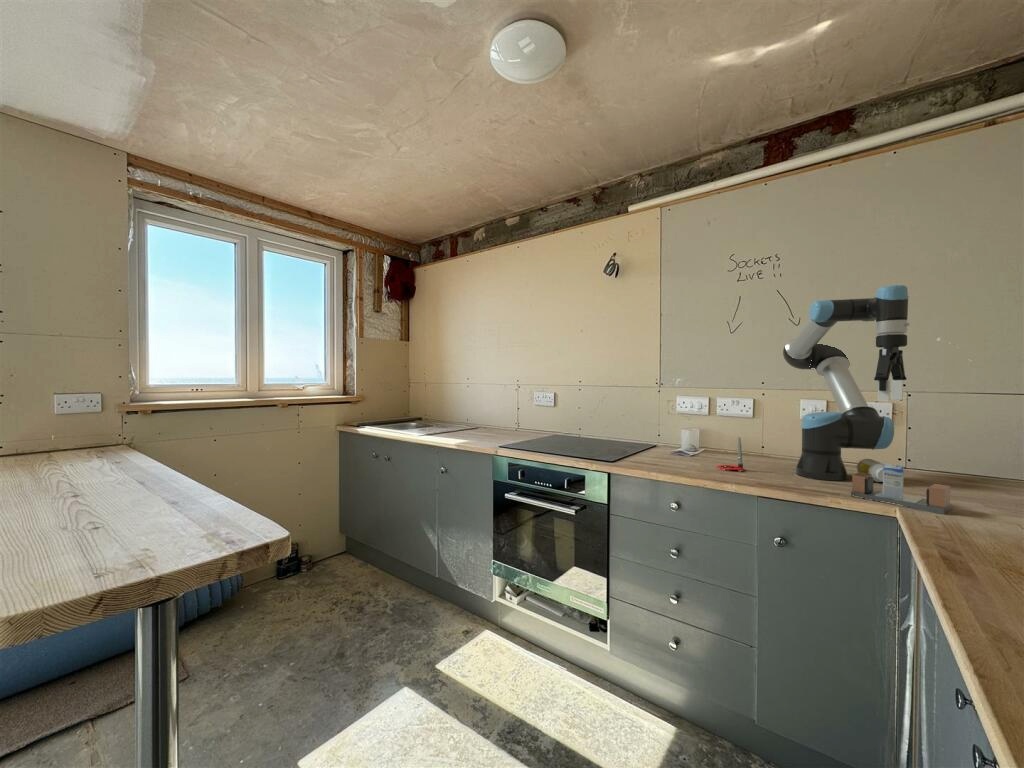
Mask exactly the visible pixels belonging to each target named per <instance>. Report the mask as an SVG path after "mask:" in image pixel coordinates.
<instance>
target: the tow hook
mask: <svg viewBox="0 0 1024 768" xmlns="http://www.w3.org/2000/svg"><path fill="white" fill-rule="evenodd" d="M737 437H738V438H737V441H738V442H737V453H738V455H737V459H738V460H737V462H738V464H737V465H733V464H732V465H731V464H721V465H716V469H717V468H720V469H725V470H739V471H742V472H743V471H744V463H743V452H742V449H743V448H742V442H741V440H742V439H741V437H739V436H737ZM724 466H726V467H734V468H722V467H724ZM739 471H738V472H739Z"/></svg>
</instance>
